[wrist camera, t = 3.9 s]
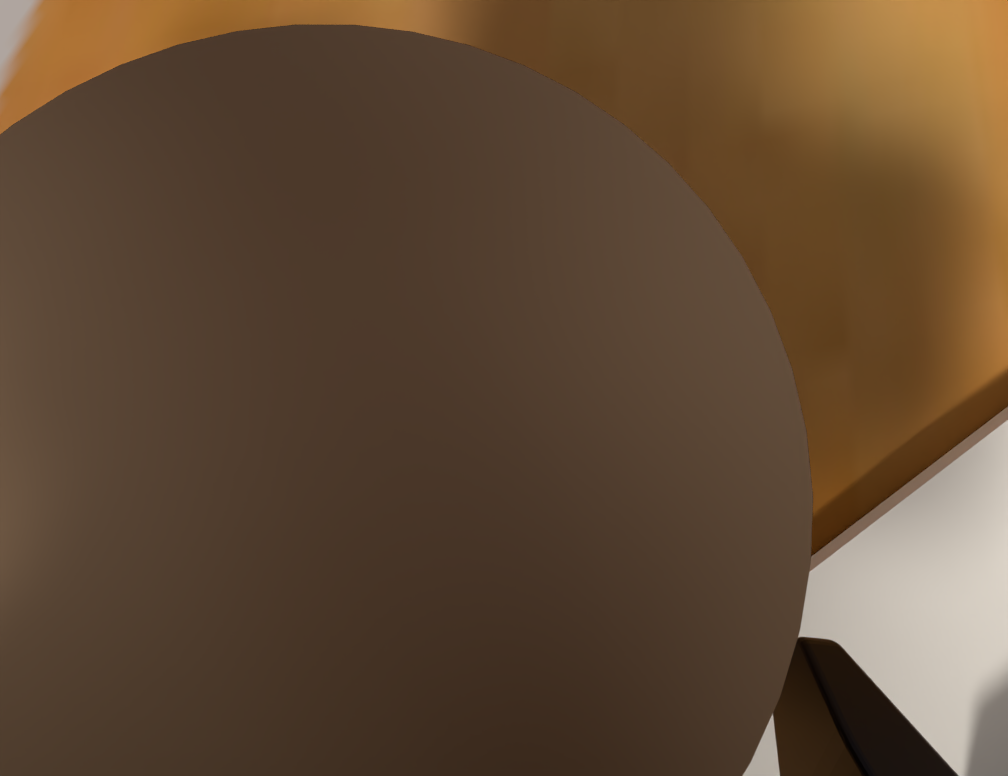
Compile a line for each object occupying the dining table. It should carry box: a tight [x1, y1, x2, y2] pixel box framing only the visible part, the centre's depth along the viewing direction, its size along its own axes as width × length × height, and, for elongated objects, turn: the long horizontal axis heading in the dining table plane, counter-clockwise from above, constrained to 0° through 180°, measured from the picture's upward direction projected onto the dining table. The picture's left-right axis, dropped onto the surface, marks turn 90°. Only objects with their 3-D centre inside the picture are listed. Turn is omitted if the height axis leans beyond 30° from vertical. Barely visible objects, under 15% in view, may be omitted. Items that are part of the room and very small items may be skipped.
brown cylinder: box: [0, 25, 813, 776], centre depth 11 cm, size 6×6×13 cm
